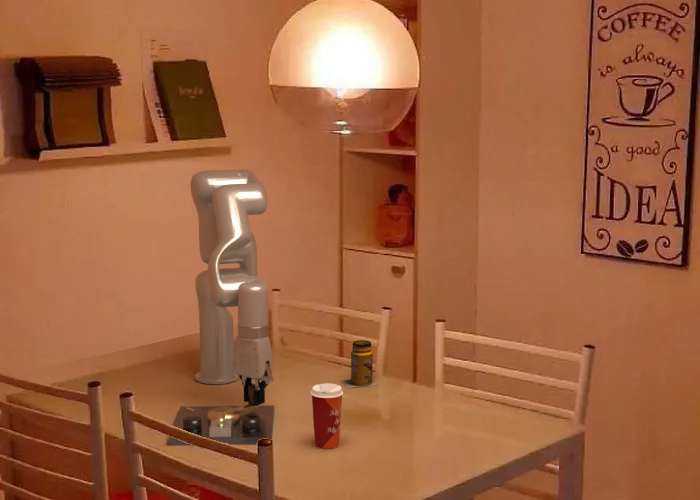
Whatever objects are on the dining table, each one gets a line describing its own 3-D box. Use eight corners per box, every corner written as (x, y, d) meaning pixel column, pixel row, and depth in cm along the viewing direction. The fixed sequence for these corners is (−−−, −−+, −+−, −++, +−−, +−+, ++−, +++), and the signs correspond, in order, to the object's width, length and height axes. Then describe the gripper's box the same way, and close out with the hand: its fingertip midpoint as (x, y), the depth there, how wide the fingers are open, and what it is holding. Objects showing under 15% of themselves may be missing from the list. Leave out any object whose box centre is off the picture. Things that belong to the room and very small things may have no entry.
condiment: (377, 385, 291) (377, 344, 289) (348, 388, 288) (348, 346, 286) (368, 378, 298) (368, 337, 296) (340, 381, 295) (340, 340, 293)
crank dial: (222, 427, 250) (221, 401, 249) (200, 420, 256) (200, 394, 254) (269, 412, 262) (269, 387, 260) (248, 405, 267) (247, 381, 266)
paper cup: (339, 451, 240) (339, 393, 238) (307, 449, 241) (306, 391, 239) (346, 440, 247) (346, 383, 245) (315, 438, 249) (314, 381, 247)
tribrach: (180, 412, 267) (180, 391, 266) (274, 411, 268) (274, 390, 268) (168, 445, 244) (168, 422, 243) (271, 444, 245) (271, 421, 244)
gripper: (220, 328, 262) (221, 399, 265) (264, 340, 252) (265, 413, 255) (242, 323, 268) (243, 392, 271) (287, 334, 257) (287, 406, 260)
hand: (254, 401), depth 263 cm, fingers closed on crank dial, 3 cm apart
